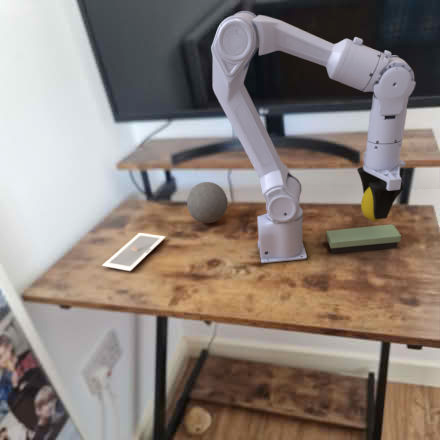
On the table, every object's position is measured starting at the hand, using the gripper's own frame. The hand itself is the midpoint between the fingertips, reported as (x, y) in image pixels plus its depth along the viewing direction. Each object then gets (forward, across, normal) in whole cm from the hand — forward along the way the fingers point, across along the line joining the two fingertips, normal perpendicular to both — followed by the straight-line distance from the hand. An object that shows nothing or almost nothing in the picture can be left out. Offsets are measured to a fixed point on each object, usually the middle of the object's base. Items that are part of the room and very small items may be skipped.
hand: (375, 210), depth 78 cm
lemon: (+3, 0, 0) cm, 3 cm away
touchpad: (+10, +9, +51) cm, 53 cm away
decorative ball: (+10, +22, +34) cm, 41 cm away
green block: (+9, +3, +1) cm, 10 cm away
